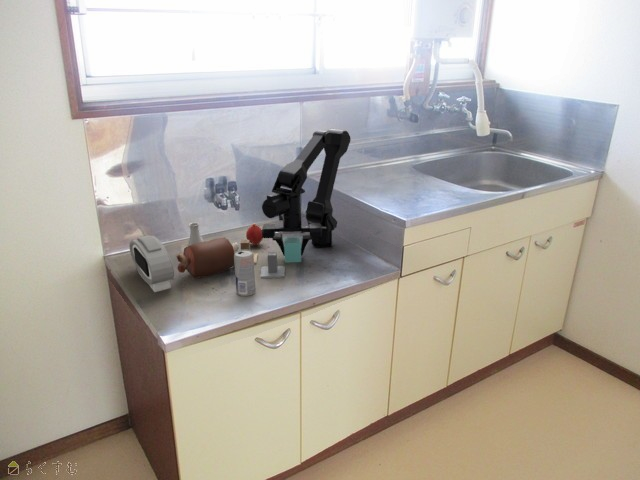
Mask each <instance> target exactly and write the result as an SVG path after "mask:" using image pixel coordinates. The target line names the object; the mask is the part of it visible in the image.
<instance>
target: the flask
mask: <svg viewBox="0 0 640 480" xmlns="http://www.w3.org/2000/svg"><path fill="white" fill-rule="evenodd" d="M199 226H200V223H199V222H190V223H189V224H188V227H189V229H190V231H189V240H188V244H187V247H188V246H190V245H192V244H195V243H199V242H205V241H204V239H203V237H202V235H201V233H200V229H199Z"/></svg>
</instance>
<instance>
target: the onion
mask: <svg viewBox="0 0 640 480" xmlns="http://www.w3.org/2000/svg"><path fill="white" fill-rule="evenodd" d="M245 235H246V236H245V237H246V240H250V244H251V245H253V246H258V244H260V243H261V241H263V239H264V238H262V228H261V227H260V226H259V225H257V224H256V223H253V224H252V225H251V226H249V228H247V231H246V234H245Z"/></svg>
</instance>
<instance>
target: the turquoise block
mask: <svg viewBox="0 0 640 480" xmlns="http://www.w3.org/2000/svg"><path fill="white" fill-rule="evenodd" d="M283 242H284V253H285V256H284V263H302V256H301V245H302V236H284V237H283Z"/></svg>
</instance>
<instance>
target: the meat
mask: <svg viewBox="0 0 640 480" xmlns="http://www.w3.org/2000/svg"><path fill="white" fill-rule="evenodd" d="M238 250H240V246H239V244H238V242H232V243H231V242H230V240H229V239H228V238H226V237H219V238H213V239H211V240H207V241H204V242H199V243H195V244H192V245H190V246H188V245H187V246H185V248H184V249H183V253H181V252H180V253H178V254H177V255H176V259H177V262H179V263H178V264H177V270H178V272H179V274H180V273H185V271H187V273H189V275H190V276H191V277H192V278H193V279H200V278H205V277H209V276H210V277H211V276H213V275H217V274H220V273H222V272H224V271H226V270H230V269H231V268H233V267H235V265H234V255H235V252H236V251H238Z"/></svg>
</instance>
